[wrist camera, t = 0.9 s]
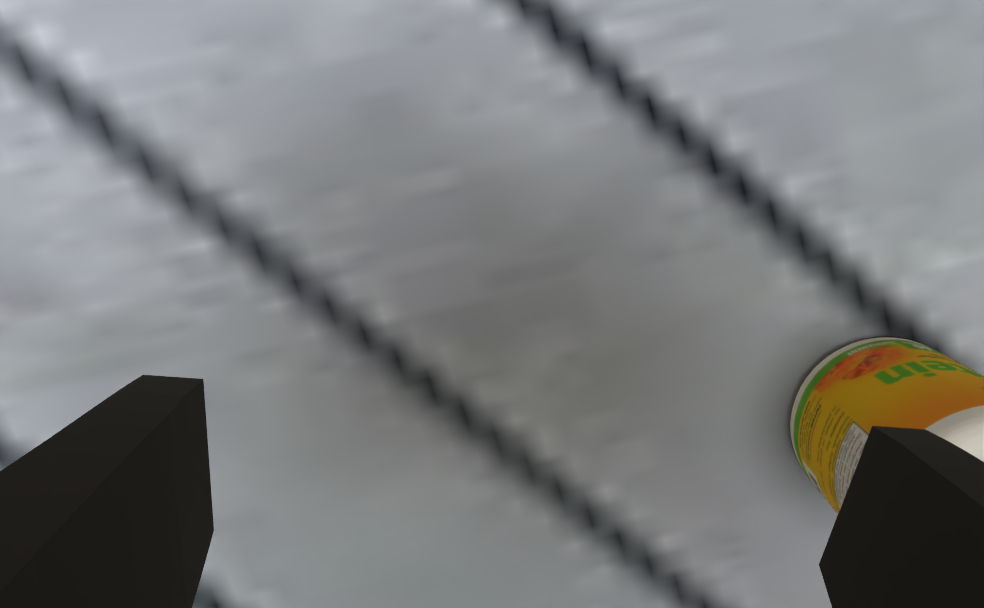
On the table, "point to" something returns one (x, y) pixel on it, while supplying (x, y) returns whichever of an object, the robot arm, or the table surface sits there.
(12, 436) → the table surface
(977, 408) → the supplement bottle
